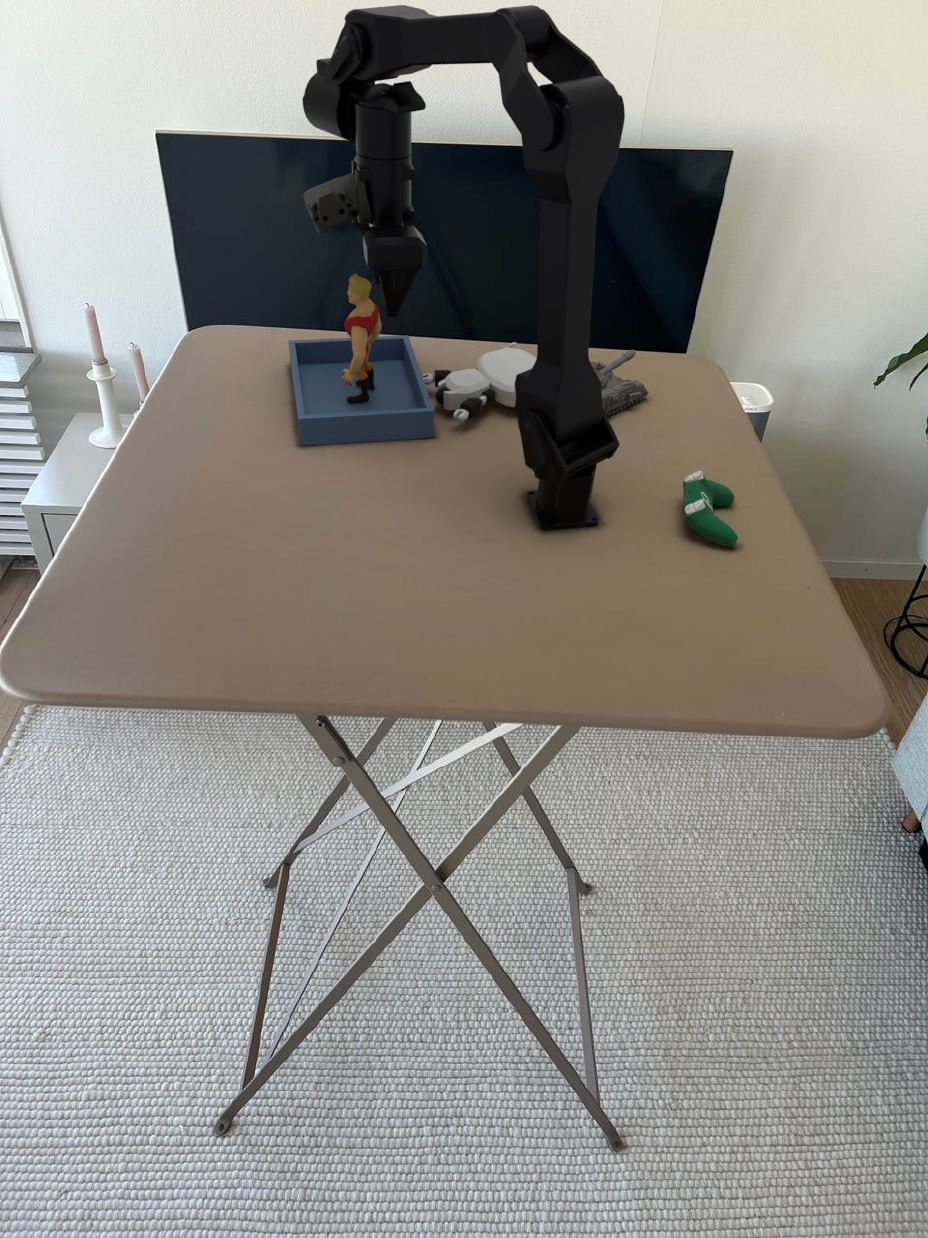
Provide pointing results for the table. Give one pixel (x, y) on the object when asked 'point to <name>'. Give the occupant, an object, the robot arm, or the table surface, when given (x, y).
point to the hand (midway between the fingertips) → (386, 299)
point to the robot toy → (481, 382)
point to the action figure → (361, 336)
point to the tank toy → (618, 386)
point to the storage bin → (391, 406)
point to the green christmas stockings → (707, 508)
